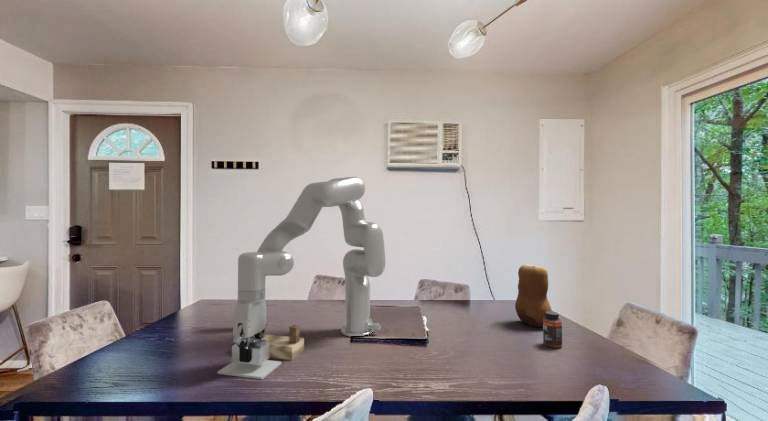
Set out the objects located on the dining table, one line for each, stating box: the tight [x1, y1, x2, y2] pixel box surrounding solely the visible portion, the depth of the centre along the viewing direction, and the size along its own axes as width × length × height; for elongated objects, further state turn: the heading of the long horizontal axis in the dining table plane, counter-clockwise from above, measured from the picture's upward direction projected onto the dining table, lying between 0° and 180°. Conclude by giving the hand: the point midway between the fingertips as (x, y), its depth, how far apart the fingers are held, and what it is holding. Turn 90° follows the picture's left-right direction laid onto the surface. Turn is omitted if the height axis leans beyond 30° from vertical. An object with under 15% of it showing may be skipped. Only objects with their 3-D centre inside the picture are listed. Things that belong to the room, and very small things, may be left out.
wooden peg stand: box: [244, 324, 305, 361], centre depth 109 cm, size 18×8×9 cm, turn 77°
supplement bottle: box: [542, 311, 563, 349], centre depth 116 cm, size 6×6×11 cm
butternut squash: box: [514, 263, 552, 328], centre depth 138 cm, size 14×13×25 cm
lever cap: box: [231, 338, 271, 365], centre depth 97 cm, size 9×5×6 cm, turn 77°
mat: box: [217, 359, 282, 380], centre depth 97 cm, size 14×10×1 cm
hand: (251, 356), depth 97 cm, fingers closed on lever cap, 5 cm apart
